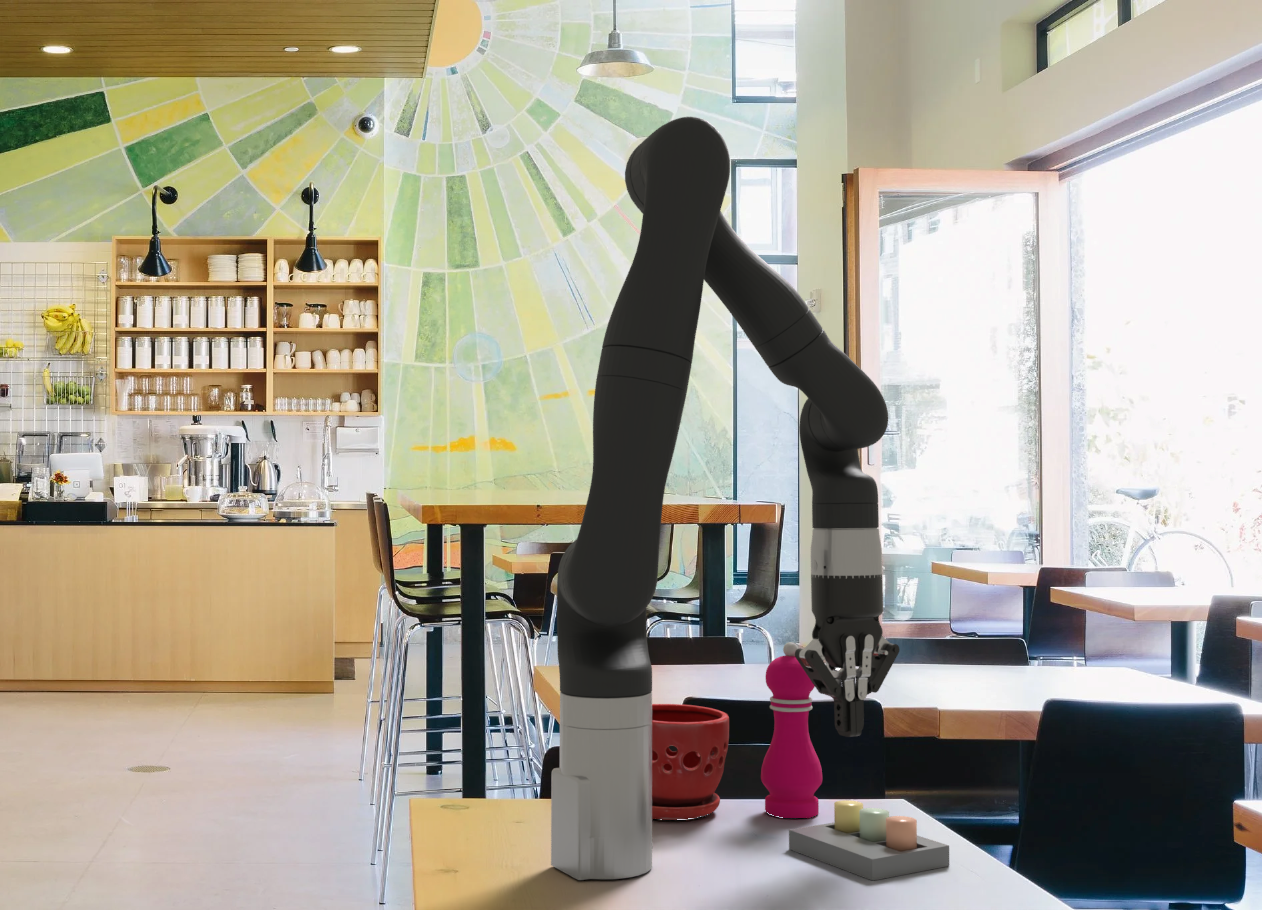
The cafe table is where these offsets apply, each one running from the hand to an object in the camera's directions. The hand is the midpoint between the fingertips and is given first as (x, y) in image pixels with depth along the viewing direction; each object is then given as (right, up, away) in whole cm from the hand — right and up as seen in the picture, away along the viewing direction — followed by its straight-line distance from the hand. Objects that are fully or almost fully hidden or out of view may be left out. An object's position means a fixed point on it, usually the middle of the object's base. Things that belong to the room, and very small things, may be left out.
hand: (849, 734), depth 129 cm
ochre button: (0, -10, -1) cm, 10 cm away
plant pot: (-18, -13, +14) cm, 26 cm away
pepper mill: (-4, -13, +14) cm, 20 cm away
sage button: (+2, -10, -4) cm, 11 cm away
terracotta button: (+4, -10, -7) cm, 13 cm away
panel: (+1, -11, -5) cm, 12 cm away
